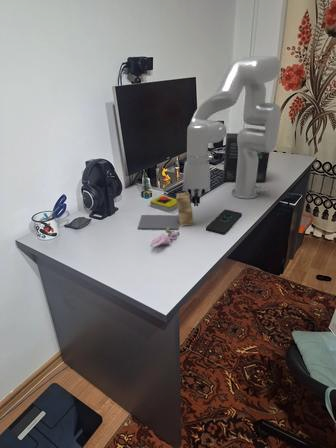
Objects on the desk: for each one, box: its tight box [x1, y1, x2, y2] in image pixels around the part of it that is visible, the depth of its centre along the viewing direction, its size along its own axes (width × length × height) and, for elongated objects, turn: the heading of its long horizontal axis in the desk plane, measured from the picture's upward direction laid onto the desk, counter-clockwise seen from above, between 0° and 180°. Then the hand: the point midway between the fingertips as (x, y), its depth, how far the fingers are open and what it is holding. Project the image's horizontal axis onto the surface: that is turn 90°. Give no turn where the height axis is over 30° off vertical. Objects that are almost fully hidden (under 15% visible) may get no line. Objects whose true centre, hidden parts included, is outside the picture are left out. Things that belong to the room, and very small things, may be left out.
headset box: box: [222, 132, 270, 184], centre depth 167 cm, size 22×12×26 cm, turn 84°
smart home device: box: [205, 209, 243, 236], centre depth 126 cm, size 8×2×20 cm
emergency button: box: [147, 195, 178, 214], centre depth 140 cm, size 9×4×15 cm
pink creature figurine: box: [150, 227, 180, 247], centre depth 111 cm, size 6×6×15 cm
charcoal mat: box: [137, 214, 180, 231], centre depth 126 cm, size 16×12×1 cm
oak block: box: [175, 191, 194, 227], centre depth 123 cm, size 5×5×12 cm
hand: (195, 204), depth 122 cm, fingers closed
